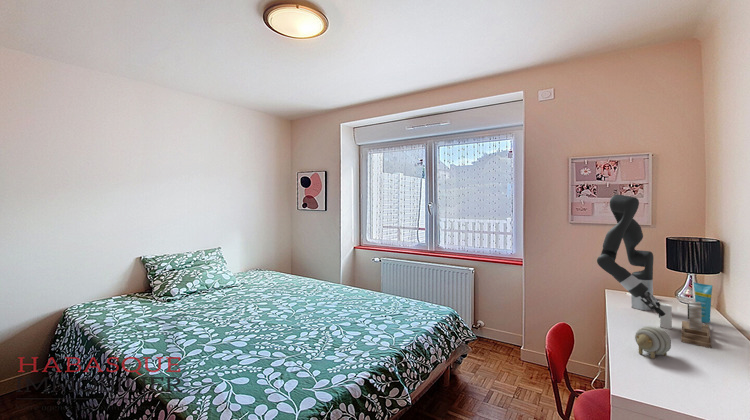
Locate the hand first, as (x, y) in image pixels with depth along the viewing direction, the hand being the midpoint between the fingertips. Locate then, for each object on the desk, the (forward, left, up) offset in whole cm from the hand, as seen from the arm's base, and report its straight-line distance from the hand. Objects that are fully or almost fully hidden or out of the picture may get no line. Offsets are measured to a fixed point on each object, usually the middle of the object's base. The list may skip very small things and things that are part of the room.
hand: (664, 313), depth 153 cm
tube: (+14, +22, -7) cm, 27 cm away
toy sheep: (-1, -40, -7) cm, 40 cm away
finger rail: (+11, -3, -7) cm, 13 cm away
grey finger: (+1, 0, -7) cm, 7 cm away
